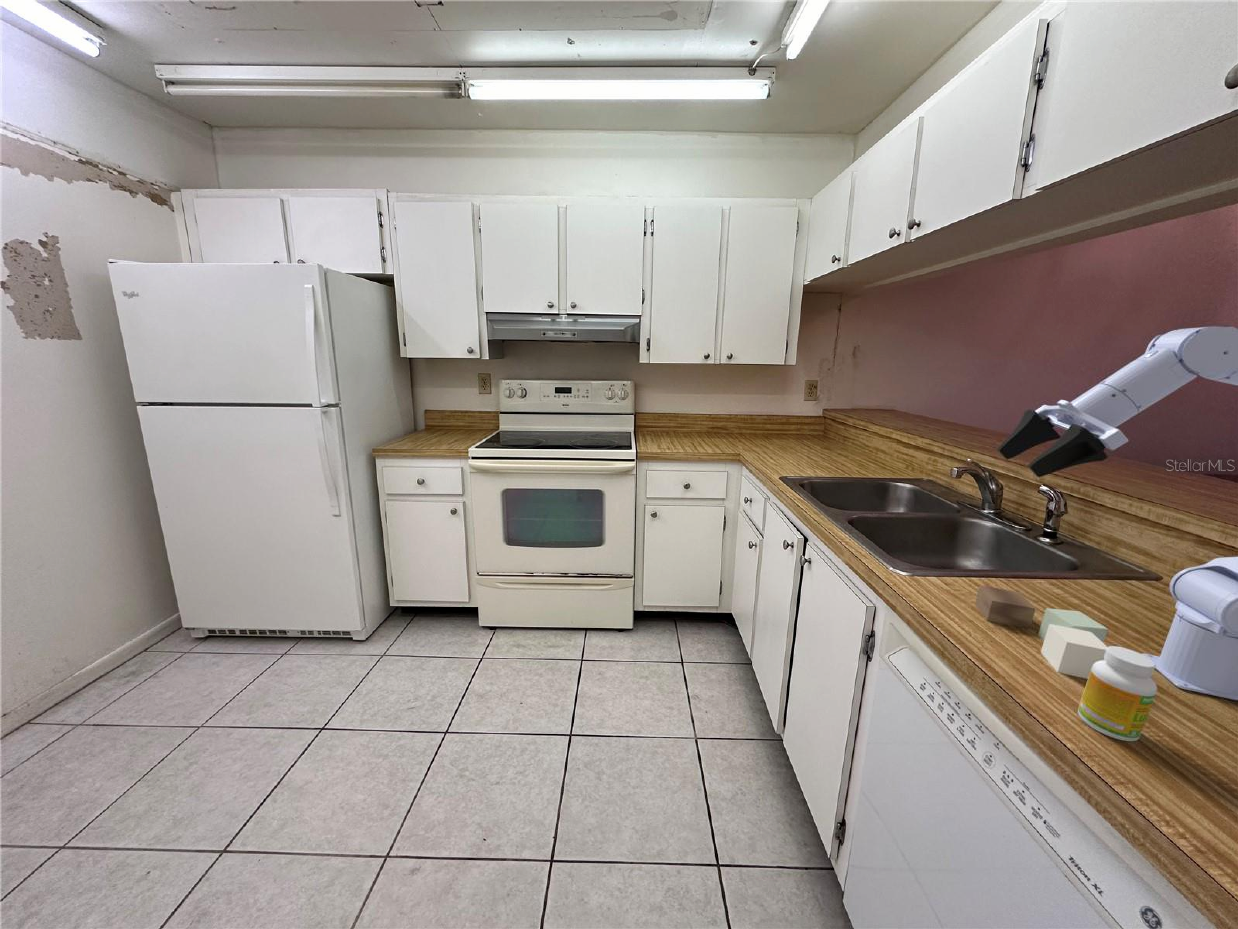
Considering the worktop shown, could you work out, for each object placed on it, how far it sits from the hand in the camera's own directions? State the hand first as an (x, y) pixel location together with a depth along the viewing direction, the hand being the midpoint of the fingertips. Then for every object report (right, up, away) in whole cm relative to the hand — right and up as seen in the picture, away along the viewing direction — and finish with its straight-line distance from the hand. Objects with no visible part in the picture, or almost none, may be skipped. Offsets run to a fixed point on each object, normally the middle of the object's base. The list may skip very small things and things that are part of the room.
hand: (1016, 462), depth 68 cm
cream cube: (+8, -30, 0) cm, 31 cm away
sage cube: (+12, -29, +5) cm, 32 cm away
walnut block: (+9, -27, +13) cm, 31 cm away
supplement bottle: (+2, -32, -11) cm, 34 cm away
